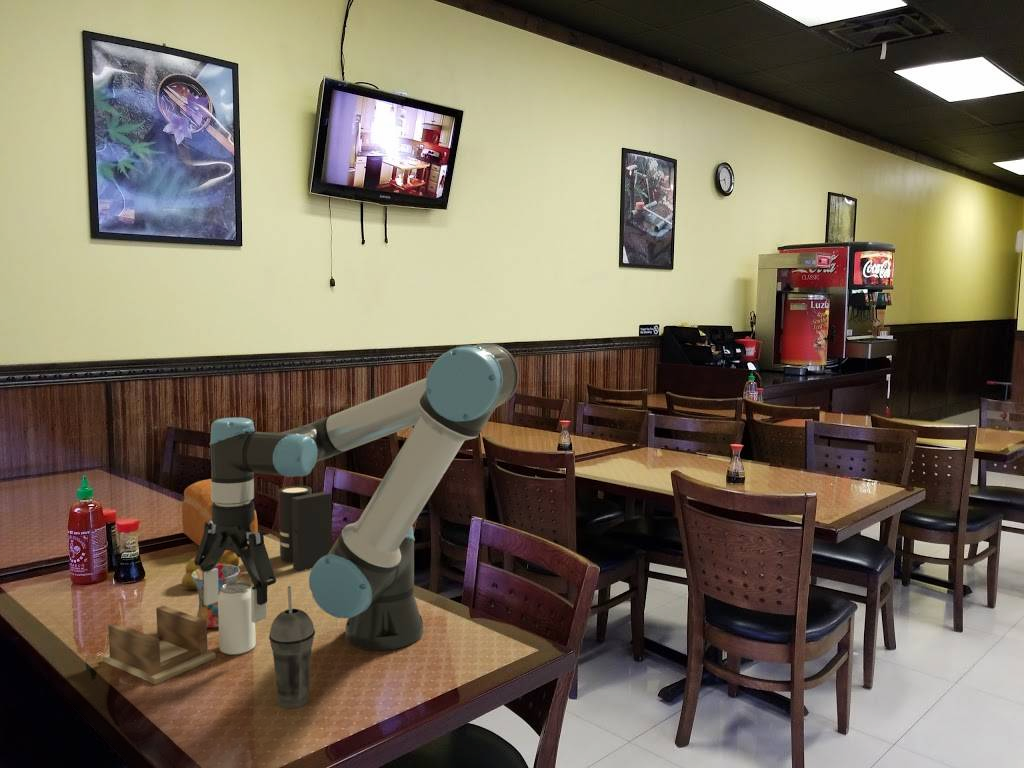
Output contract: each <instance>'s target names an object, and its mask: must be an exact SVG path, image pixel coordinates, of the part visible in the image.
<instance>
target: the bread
mask: <svg viewBox="0 0 1024 768" xmlns="http://www.w3.org/2000/svg"><path fill="white" fill-rule="evenodd" d="M183 495H184V496H183V500H182V502H181V518H182V519H181V521H182V530H183V534H184V535H186V537H187V538H189V539H190V540H191V541H192V542H193V543H195V544H196V545H197V546H198V547H199V546H200V543H201V540H202V537H203V534H204V524H205V522H209V521H212V504H213V503H214V502H213V501H212V500H211V478H208V479H203V480H198V481H196V482H194V483H192V484H190V485H188V486H187V487H186V488H185V489H184V491H183ZM257 517H258V516H257V511H256V508H254V520H253V521H252V523H251V524H250V529H251V532H255V533H256V532H259V530H258V528H259V527H258V525H259V524H258V523H259V522H258V518H257ZM245 549H247V546H246V548H245Z"/></svg>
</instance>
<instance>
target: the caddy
mask: <svg viewBox="0 0 1024 768" xmlns="http://www.w3.org/2000/svg"><path fill="white" fill-rule="evenodd" d="M155 612H156V629H157V630H156V631H157V633H154V634H152V635H149V634H147V633H145V632H142V631H140V630H136V629H135V628H132V627H129V626H127V625H124V624H121V623H119V622H113V623H110V624H108V626H107V629H108V630H107V631H108V647H109V648H108V650H109V652H108V653H107V654H103V655H102V662H104V663H106V664H107V665H110V666H112V667H115V668H116V669H117V668H118V669H119V670H122V671H124V672H127V673H129V674H131V675H133V676H135V677H138V678H139V679H142V680H144V681H146V682H149V683H151V684H153V685H158V684H161V683H163V682H165V681H166V680H169V679H171V678H174V677H176V676H179V675H180V674H183V673H185V672H187V671H189V670H192V669H194V668H196V667H199V666H202V665H203V664H205V663H208V662H210V661H212V660H214V659H216V652H213V651H211V650H209V649H208V627H207V621H206V620H203V619H200V618H197V617H196V616H195V615H191V614H188V613H185V612H183V611H180V610H177V609H174V608H172V607H168V606H165V605H160V606H158V607H156V611H155Z"/></svg>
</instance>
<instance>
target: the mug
mask: <svg viewBox="0 0 1024 768" xmlns="http://www.w3.org/2000/svg"><path fill="white" fill-rule="evenodd" d="M214 568H217V569H218V596H219V593H220V588H221V587H222V586H223V585H226V584H229V583H233V582H238V580H239V579H240V577H241V576H243V575H248V576H249V574H248V572H247V571H243V572H241V569H240V568H239V566H238V567H237V566H234V565H227V564H220V565H218V566H217V565H216V567H213V569H214ZM191 577H192V579H193V581H194V583H195V585H196V588H197V589H196V591H197V595H198V610H197V615H196V616H195V617H197V618H200V619H203V620H206V621H207V628H210V629H211V628H214V629H215V628H219V617H218V602H215V603H212V604H210V605H207V606H206V605H204V586H203V571H202V570H201V568H199V569H197V570H195V571H194V572H193V573H192V574H191ZM248 583H250V584H251V585H252V584H253V582H252V580H251V578H250V577H249V582H248Z"/></svg>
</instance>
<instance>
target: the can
mask: <svg viewBox="0 0 1024 768" xmlns="http://www.w3.org/2000/svg"><path fill="white" fill-rule="evenodd" d="M251 587H253V585H252V583H251V584H250V583H249V582H247V581H237V582H233V583H229V584H226V585H223V586H222V587H221V588H220V593H219V596H218V617H219V627H218V641H219V650H220V652H221V653H222V654H224V655H228V656H237V655H243V654H246V653H248V652H250V651H252V650H253V649H255V647H256V622H255V623H253V622H252V621H251Z"/></svg>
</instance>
